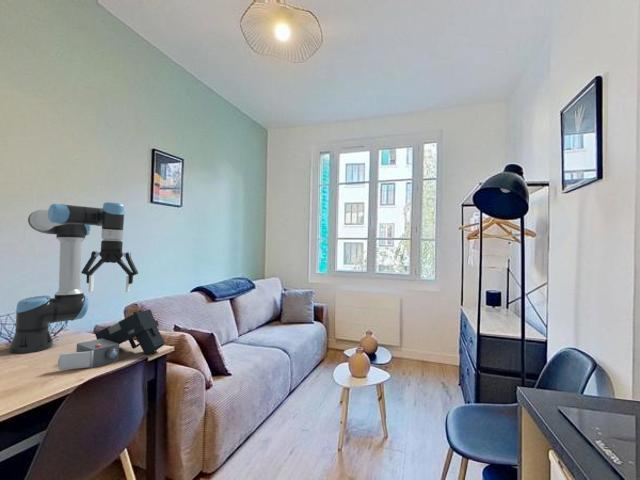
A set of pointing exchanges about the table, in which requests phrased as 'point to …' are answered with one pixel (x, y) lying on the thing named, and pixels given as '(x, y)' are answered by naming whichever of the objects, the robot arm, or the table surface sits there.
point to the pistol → (135, 332)
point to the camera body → (100, 351)
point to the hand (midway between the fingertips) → (109, 291)
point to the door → (75, 360)
